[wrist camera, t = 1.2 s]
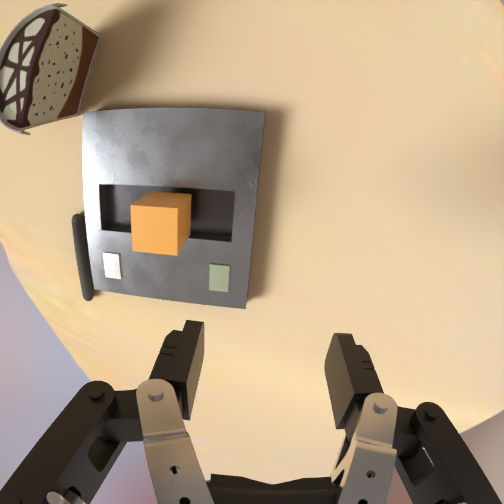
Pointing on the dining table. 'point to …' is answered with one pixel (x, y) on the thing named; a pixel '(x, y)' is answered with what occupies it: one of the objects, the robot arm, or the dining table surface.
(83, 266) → the grey rod
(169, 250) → the lever
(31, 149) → the dining table surface
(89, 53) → the food container
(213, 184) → the panel
